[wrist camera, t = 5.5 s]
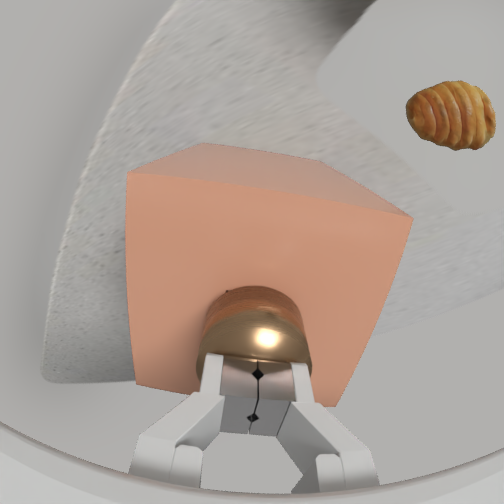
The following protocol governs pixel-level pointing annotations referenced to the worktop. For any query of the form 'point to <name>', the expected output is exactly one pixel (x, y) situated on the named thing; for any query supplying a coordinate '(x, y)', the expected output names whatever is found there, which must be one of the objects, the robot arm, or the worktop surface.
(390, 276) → the block
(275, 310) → the plunger
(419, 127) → the pastry
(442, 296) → the worktop surface
